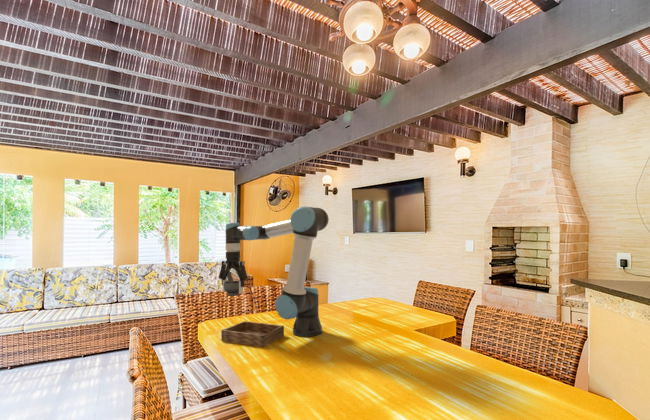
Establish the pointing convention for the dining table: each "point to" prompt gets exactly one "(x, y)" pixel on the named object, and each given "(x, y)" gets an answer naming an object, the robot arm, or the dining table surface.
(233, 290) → the mortar and pestle
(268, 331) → the crate
